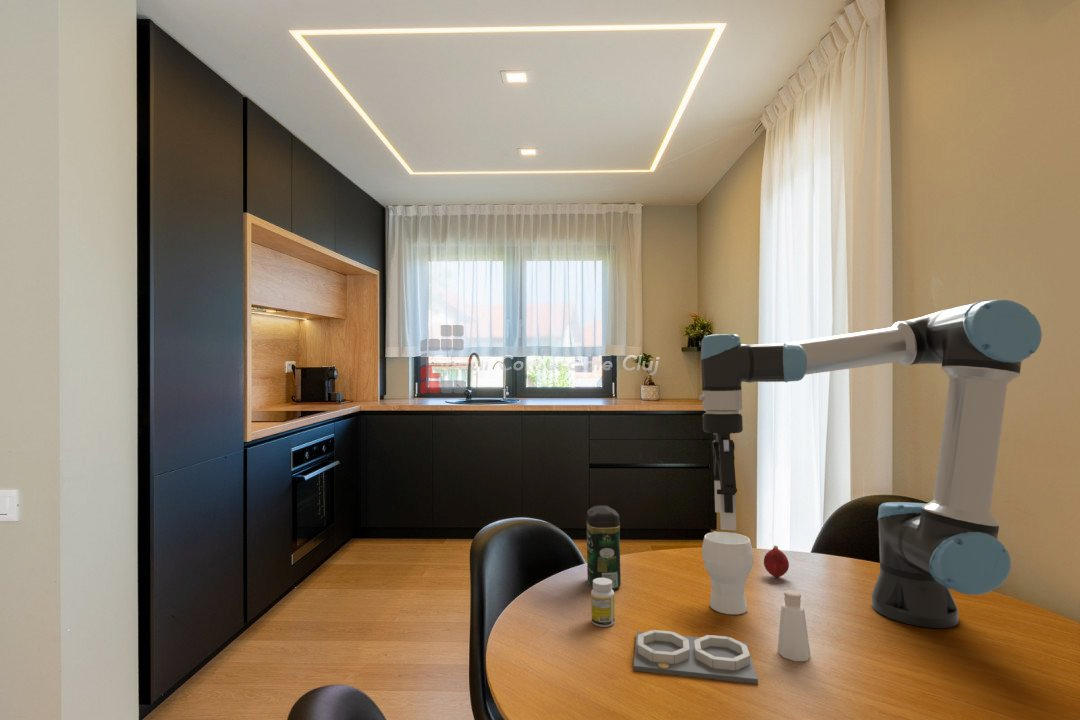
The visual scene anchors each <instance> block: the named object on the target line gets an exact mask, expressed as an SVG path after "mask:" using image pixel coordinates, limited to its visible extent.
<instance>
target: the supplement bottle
mask: <svg viewBox="0 0 1080 720" xmlns="http://www.w3.org/2000/svg"><path fill="white" fill-rule="evenodd" d="M590 599H591V602H590V606H591V623H592V624H593V625H594V626H596V627H599V628H609V627H611V626H613V625H614V624H615V621H616V619H615V615H616V614H615V610H616V609H615V592H614V589H613V590H612V581H611V580H610V579H608V578H596V579H594V580H593V588H592V589H591V592H590Z"/></svg>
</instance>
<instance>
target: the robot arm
mask: <svg viewBox="0 0 1080 720" xmlns="http://www.w3.org/2000/svg"><path fill="white" fill-rule="evenodd" d="M1042 335H1043V334H1042V328H1041V325H1040V322H1039V320H1038V318H1037V317H1036V315H1035V314H1034V313H1032V312H1031V311H1030V310H1029V309H1028V308H1027V307H1026V306H1025V305H1023V304H1021V303H1020V302H1016V301H1014V300H1010V299H990V300H989V299H987V300H986V299H985V300H980V301H979V300H978V301H976V302H973V303H970V304H966V305H960V306H959V305H958V306H955V307H949V308H946V309H942V310H939V311H936V312H933V313H930V314H926V315H924V316H923V315H922V316H920V317H916V318H911V319H907V320H901V321H900V320H899V321H897V322H896V321H895V322H894V323H893V324H892V326H891V327H885V328H879V329H878V328H877V329H873V330H865V331H864V330H863V331H858V332H852V333H851V332H850V333H845V334H839V335H830V336H825V337H819V338H818V337H817V338H811V339H805V340H804V339H803V340H799V341H798V340H796V341H791V342H783V343H761V344H745V343H742V341H741V337H740V336H739V334H736V333H735V334H734V333H732V334H731V333H724V334H721V333H719V334H709V335H706V336H704V337H702V339H701V342H700V343H701V345H700V347H701V349H700V367H701V390H702V393H701V394H702V395H699V396H698V400H699V401H702V410H703V411H705V413H703V414H702V431H703V432H704V433H707V434H708V433H709V434H713V437H712V438H713V440H712V441H711V449H712V457H713V471H712V473H713V479H714V482H713V483H714V511H715V513H719V514H720V516H719V517H720V518H719V519H720V530H722V531H738V530H737V504H736V502H737V500H736V499H737V498H736V495H737V492H738V488H737V481H736V469H735V467H736V465H735V448H736V445H735V441H734V440H733V439H731V434H740V433H742V432H743V430H744V429H743V428H744V427H743V425H744V424H743V415H742V413H740V412H741V411H742V410H743V388H742V384H743V383H744V382H745V383H749V384H750V383H757V382H758V383H759V382H760V383H764V382H765V383H771V382H772V383H776V382H777V383H779V382H781V383H788V382H799V381H801V380H803V379H804V378H805V376H806V375H813V374H818V373H819V374H820V373H828V372H835V371H842V370H849V369H856V368H857V369H858V368H864V367H870V366H871V367H872V366H878V365H879V366H880V365H885V364H893V363H898V364H899V365H901V366H913V365H924V364H925V365H926V364H930V365H931V364H932V365H933V364H935V365H936V364H937V365H941V370H942V371H943V373H945V375H947V376H948V379H949V381H948V389H947V394H946V395H947V396H946V403H945V410H944V416H943V424H942V432H941V438H940V446H939V451H938V452H939V454H938V459H937V466H936V473H935V481H934V488H933V494H932V495H933V496H932V500H931V501H930V502H928V503H922V502H906V501H905V502H903V501H902V502H901V501H898V502H897V501H894V502H893V501H890V502H883V503H881V504H880V505H879V506H878V515H877V521H878V546H879V573H878V576H877V579H876V582H875V583H874V587H873V590H872V593H871V606H872V608H873V609H874V610H875V611H876V612H877V613H879V614H880V615H882V616H885V617H887V618H888V619H891V620H893V621H897V622H900V623H903V624H906V625H911V626H916V627H922V628H931V629H946V628H947V629H948V628H953V627H955V626H957V625H959V623H958V622H959V621H960V620H959V618H960V617H959V609H958V606H957V604H956V601H955V600H954V597H953V595H952V591H951V590H953V591H956V592H957V593H960V594H964V595H969V596H979V595H981V596H982V595H985V594H988V593H991V591H993V590H995V589H999V588H1000V586H1002V585H1003V584H1004V583H1005V581H1006V580H1007V579H1008V576H1009V575H1010V572H1011V564H1012V561H1011V557H1010V554H1009V551H1008V550H1007V549H1006V548H1005V545H1004V544H1003V543H1002V542H1001V541H1000V540H998V539H999V530H1000V522H999V521H998V520H997V519H996V518H995V517H994V516H993V515H992V513H991V507H992V501H993V500H992V499H993V492H994V485H995V478H996V473H997V472H996V471H997V462H998V458H999V457H998V455H999V450H1000V449H999V448H1000V442H1001V435H1002V434H1001V433H1002V427H1003V418H1004V411H1005V404H1006V397H1007V392H1008V391H1007V390H1008V385H1009V383H1010V382H1012V381H1013V380H1015V379H1017V378H1019V377H1020V373H1021V368H1022V362H1023V361H1025V360H1027V359H1029V358H1030V357H1031V355H1032V354H1035V353H1036V352H1037V350H1038V349H1039V347H1040V345H1041V341H1042V338H1043V337H1042Z"/></svg>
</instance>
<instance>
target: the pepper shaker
mask: <svg viewBox="0 0 1080 720" xmlns="http://www.w3.org/2000/svg"><path fill="white" fill-rule="evenodd" d="M783 595H784V603H783V604H781V609H780V619H779V627H778V628H779V629H778V643H777V653H778V654H779V655H780V656H781V657H783V658H784V659H787V660H789V661H792V662H797V663H798V662H808V660H809V659H810V658H811V656H812V655H811V647H810V641H809V636H808V635H809V634H808V627H807V626H808V625H807V620H806V612H805V608H804V607H803V606H802V604H801V601H802V599H801V598H802V594H801V593H800V592H799V591H796V590H791V589H790V590H789V589H788V590H785V591H784V592H783Z"/></svg>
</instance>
